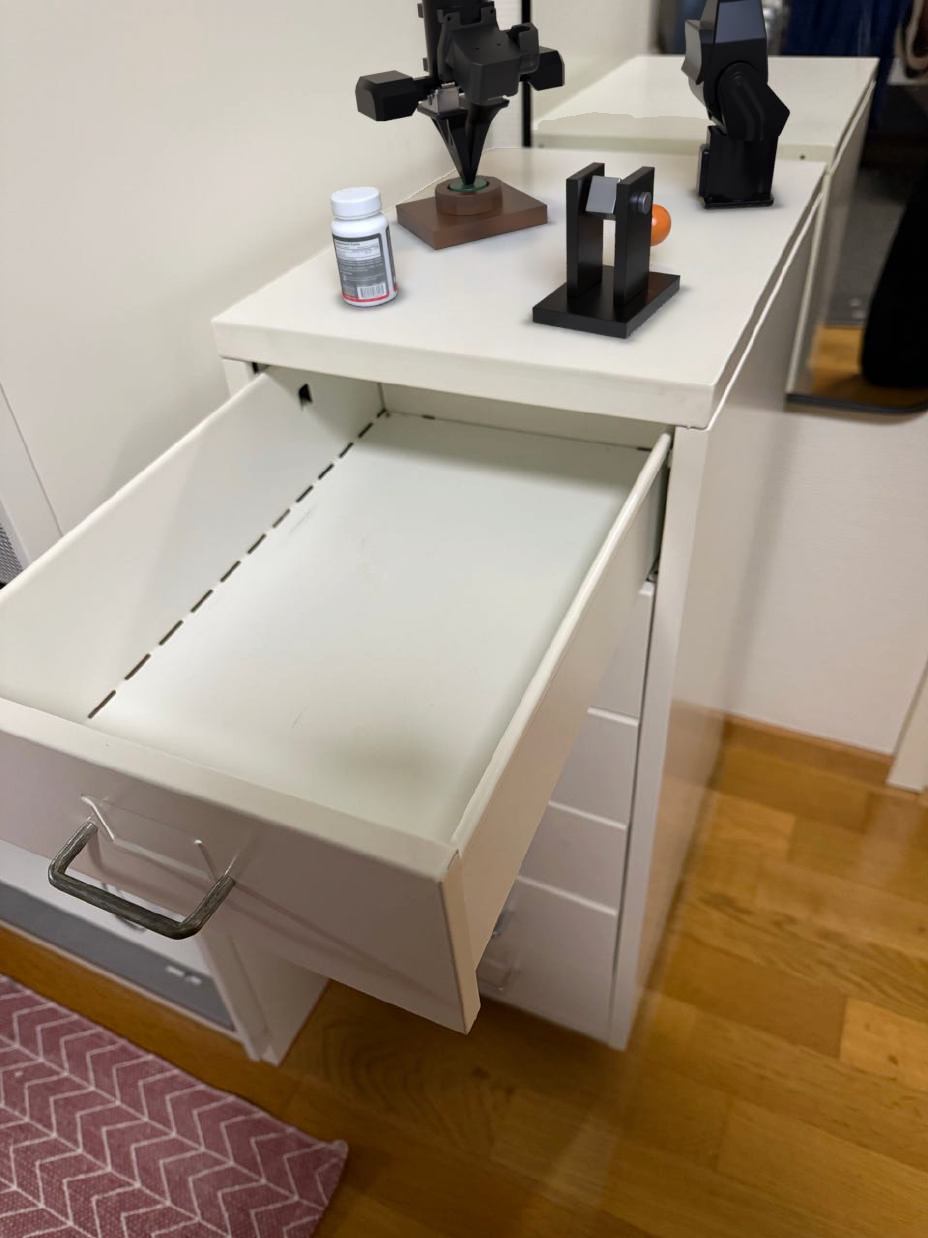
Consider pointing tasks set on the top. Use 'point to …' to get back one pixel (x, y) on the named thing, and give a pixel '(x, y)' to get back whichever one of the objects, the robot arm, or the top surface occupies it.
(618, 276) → the switch bracket
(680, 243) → the top surface
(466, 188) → the button
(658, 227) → the switch lever
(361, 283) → the pill bottle
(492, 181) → the button block
